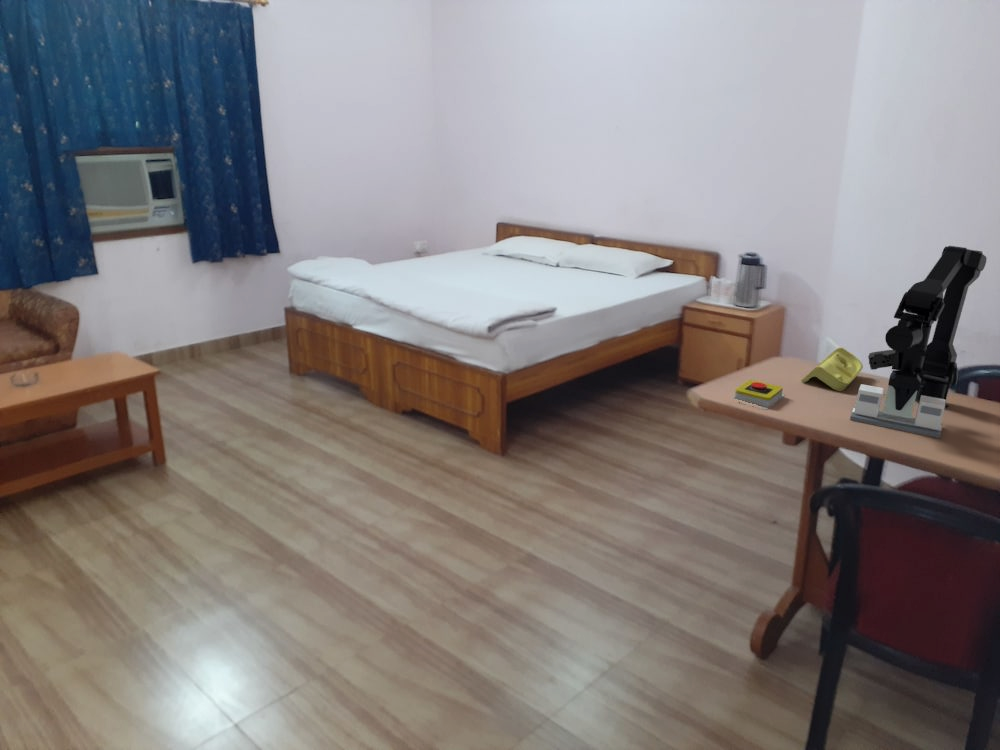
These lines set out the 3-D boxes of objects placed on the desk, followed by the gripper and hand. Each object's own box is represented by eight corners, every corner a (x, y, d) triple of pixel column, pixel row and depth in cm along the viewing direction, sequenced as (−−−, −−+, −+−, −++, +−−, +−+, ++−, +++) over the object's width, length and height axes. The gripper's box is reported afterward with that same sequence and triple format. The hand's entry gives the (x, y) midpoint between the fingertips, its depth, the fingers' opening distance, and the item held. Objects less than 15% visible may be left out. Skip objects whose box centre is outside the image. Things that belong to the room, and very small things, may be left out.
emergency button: (732, 386, 186) (752, 372, 197) (729, 402, 187) (750, 388, 199) (768, 395, 181) (788, 380, 192) (766, 412, 182) (785, 396, 193)
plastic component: (846, 385, 195) (814, 362, 199) (830, 405, 199) (798, 382, 203) (867, 364, 209) (836, 343, 213) (851, 383, 214) (821, 362, 217)
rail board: (940, 427, 175) (947, 398, 173) (940, 438, 169) (947, 408, 166) (853, 410, 184) (859, 382, 182) (849, 419, 178) (855, 391, 175)
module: (911, 412, 176) (918, 384, 174) (910, 418, 172) (917, 390, 170) (884, 406, 179) (890, 379, 177) (882, 412, 175) (888, 385, 173)
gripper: (878, 329, 182) (865, 388, 187) (871, 346, 166) (857, 411, 171) (929, 336, 176) (915, 398, 181) (927, 355, 161) (911, 421, 166)
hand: (898, 406), depth 175 cm, fingers closed on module, 5 cm apart
